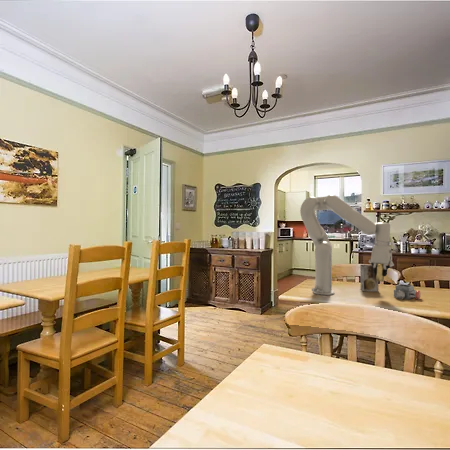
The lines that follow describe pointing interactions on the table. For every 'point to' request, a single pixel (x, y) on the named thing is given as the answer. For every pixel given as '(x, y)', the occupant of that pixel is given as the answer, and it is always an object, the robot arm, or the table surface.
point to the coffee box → (368, 278)
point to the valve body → (406, 292)
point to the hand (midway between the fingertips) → (380, 275)
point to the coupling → (380, 272)
